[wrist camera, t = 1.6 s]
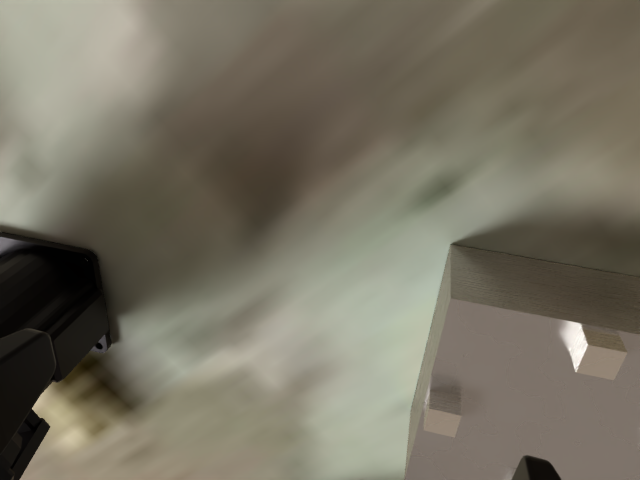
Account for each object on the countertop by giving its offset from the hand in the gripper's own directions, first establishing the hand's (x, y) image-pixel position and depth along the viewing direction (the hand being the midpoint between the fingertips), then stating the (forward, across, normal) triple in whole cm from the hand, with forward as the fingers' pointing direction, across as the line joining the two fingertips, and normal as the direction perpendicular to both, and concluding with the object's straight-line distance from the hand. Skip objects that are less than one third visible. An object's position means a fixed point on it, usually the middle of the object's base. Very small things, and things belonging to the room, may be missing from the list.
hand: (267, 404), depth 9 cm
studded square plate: (+13, -10, +8) cm, 18 cm away
